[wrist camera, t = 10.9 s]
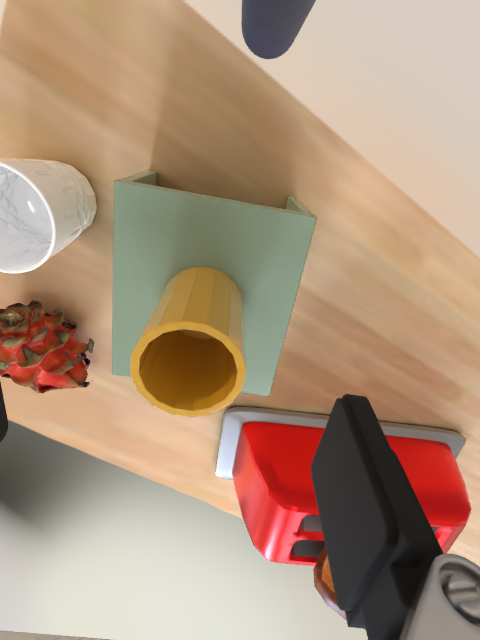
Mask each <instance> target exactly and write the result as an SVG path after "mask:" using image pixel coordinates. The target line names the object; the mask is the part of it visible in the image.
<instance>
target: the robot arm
mask: <svg viewBox="0 0 480 640" xmlns="http://www.w3.org/2000/svg"><path fill="white" fill-rule="evenodd" d="M7 430H8V420H7V414H6V409H5V404H4V399H3V393H2V388H1V383H0V442H1V440H3V438H4V437H5V435H6V432H7ZM311 477H312V482H313V487H314V492H315V497H316V502H317V507H318V512H319V517H320V522H321V527H322V532H323V537H324V542H325V546H326V551H327V556H328V561H329V566H330V571H331V576H332V581H333V586H334V591H335V596H336V601H337V605H338V607H339V609H340V610H342V611H345V614H346V619H347V624H348V627H355V628H366V632H367V636H368V640H480V567H479V566H477V565H476V564H475V563H473V562H471V561H469V560H468V559H466V558H464V557H461V556H458V555H455V554H444V553H443V551H442V549H441V547H440V544H439V542H438V540H437V538H436V536H435V534H434V532H433V530H432V528H431V526H430V523H429V521H428V519H427V517H426V515H425V513H424V511H423V509H422V507H421V505H420V503H419V500H418V498H417V496H416V494H415V492H414V490H413V488H412V486H411V484H410V482H409V479H408V477H407V475H406V473H405V471H404V469H403V467H402V465H401V463H400V461H399V458H398V456H397V455H396V453H395V452H394V450H392V449H391V447H390V445H389V443H388V441H387V439H386V437H385V435H384V432H383V430H382V428H381V426H380V424H379V422H378V420H377V418H376V415H375V413H374V411H373V409H372V407H371V405H370V403H369V400H368V399H367V398H366V397H364V396H356V395H349V394H345V395H344V396H343V397H342V399H341V398H338V399H337V400H336V402H335V404H334V407H333V409H332V412H331V414H330V417H329V419H328V422H327V425H326V427H325V430H324V432H323V435H322V437H321V440H320V443H319V445H318V448H317V450H316V453H315V455H314V458H313V461H312V464H311ZM0 640H109V639H97V638H85V637H72V636H59V635H47V634H36V633H24V632H12V631H0Z"/></svg>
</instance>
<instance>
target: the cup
mask: <svg viewBox="0 0 480 640" xmlns="http://www.w3.org/2000/svg"><path fill="white" fill-rule="evenodd" d="M130 373H131V376H132V379H133V381H134V383H135V385H136V388H137V390H138V391H139V393H140V394H141V395H142V396H143V397H144V398H146V399H147V400H148V401H149V402H150V403H151V404H152V405H153V406H155V407H157V408H159V409H162V410H164V411H166V412H168V413H170V414H173V415H181V416H188V417H197V416H202V415H208V414H213V413H215V412H217V411H219V410H221V409H223V408H224V407H226V406H228V405H230V404H231V403H232V402H233V400H234V399H235V398H236V397H237V395H238V394H239V393H240V392H241V390H242V389H243V385H244V381H245V376H246V340H245V307H244V302H243V297H242V293H241V291H240V289H239V287H238V286H237V284H236V283H235V282H234V281H233V280H232V279H231V278H230V277H229V276H228V275H226V274H225V273H223V272H221V271H219V270H216V269H214V268H209V267H193V268H189V269H186V270H183V271H181V272H180V273H178V274H176V275H175V276H174V277H173V278H172V279H171V280H170V281H169V282H168V284H167V285H166V287H165V289H164V291H163V293H162V294H161V296H160V298H159V300H158V302H157V304H156V306H155V308H154V310H153V312H152V314H151V316H150V318H149V320H148V322H147V324H146V326H145V328H144V330H143V332H142V334H141V336H140V338H139V340H138V342H137V343H136V345H135V347H134V349H133V351H132V353H131V365H130Z"/></svg>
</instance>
